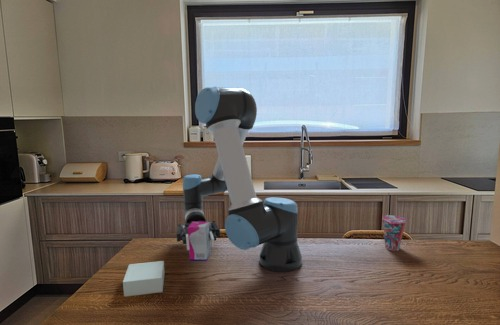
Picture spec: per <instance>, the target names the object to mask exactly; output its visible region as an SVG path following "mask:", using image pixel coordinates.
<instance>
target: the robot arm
mask: <svg viewBox="0 0 500 325" xmlns="http://www.w3.org/2000/svg"><path fill="white" fill-rule="evenodd" d="M194 105H195V106H194V112H195V113H194V114H195V117H196V119H197V120H198V122H199V123H201V124H203V125H204V124H205V127H206V130H207V132H208V133H210V134H212V135H213V140H214V144H215V148H216V151H217V154H218V157H217V160H216V163H215V166H214V169H213V171H212V174H211V176H206V177H202V175H200V174H197V173H196V174H195V173H193V174H187V175H185V176H183V178H182V192H183V193H182V194H183V214H184V219H185V220H184V222H185V224H184V225H182V224H177V230H176V241H177V242H178V243H179V242H181V241H182V244H183V245H186V251H189V250H190V249H189V237H188V227H189V226H190V224H191V223H192V222H208V221H207V219H206V217H205V216H206V215H205V213H204V207H203V206H204V205H203V204H204V203H203V199H204V198H203V197H207V196H210V195H216V194H220V193H225V192H227V193H228V197H229V200H230V204H229V207H228V209H227V211H228V215H227V217H226V218H225V220H224V230H225V233H226V236H227V238H228V240H229V241H230V242H231V244H232V245H233V246H234V247H235V248H237V249H239V250H243V251H244V250H249V249H252V248H256V247H258V246H260V245H262V246H261V250H260V252H259V264H260V265H261V267H263V268H264V269H266V270H269V271H273V272H279V273H280V272H285V273H287V272H292V271H295V270H297V269H299V268H300V267H301V265H302V264H303V263H302V261H303V256H302V253H301V250H300V246H299V244H298V218H299V215H298V214H299V212H298V204H297V202H296V201H295V200H292V199H289V198H286V197H285V198H284V197H273V196H271V197H266V198H265V199H263V200H264V201H263V200H262V199H261V198H259V197H258V196H257V194H256V190H255V186H254V182H253V180H252V176H251V172H250V168H249V165H248V161H247V157H246V154H245V150H244V143H245V141H246V138H247V135H248V133H249V131H250V130H252V129H253V127H254V125H255V122H256V119H257V114H258V113H257V112H258V111H257V110H258V107H257V103H256V99H255V98H254V96H253V95H252V93H251V92H249V91H248V90H246V89H245V88H242V87H219V86H218V87H217V86H210V87H204V88H203V89H201V90H200V91H199V93H198V94H197V96H196V101H195V102H194ZM209 234H210V246H211V247H212V248H215V246H216V245H215V241H217V238H220V237H221V230H220V228H219V226H218V225H217V224H216V221H215V220H212V221H211V222H209Z"/></svg>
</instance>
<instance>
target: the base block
mask: <svg viewBox="0 0 500 325" xmlns="http://www.w3.org/2000/svg"><path fill="white" fill-rule="evenodd" d="M165 274H166V273H165V260H158V261H148V262H139V263H138V262H136V263H129V264H128V266H127V269H126V272H125V274H124V278H123V280H122V287H123V297H132V296H140V295H148V294H155V293H163V292H164V291H163V290H164V281H165Z"/></svg>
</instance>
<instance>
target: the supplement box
mask: <svg viewBox="0 0 500 325" xmlns="http://www.w3.org/2000/svg"><path fill="white" fill-rule="evenodd" d="M209 223H210V222H209V221H207V222H192V223H191V224H190V226H189V227H188V237H189V249H190V250H188V253H189V261H190V262H207V261H208V260H209V258H210V255H211V253H212V252H211V242H210V234H209Z"/></svg>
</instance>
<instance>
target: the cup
mask: <svg viewBox="0 0 500 325" xmlns="http://www.w3.org/2000/svg"><path fill="white" fill-rule="evenodd" d="M406 222H407V219H406V218H405V217H402V216H399V215H394V214H386V215H383V216H382V225H383V238H384V247H385V249H386V250H388V251H392V252H397V251H399V250H400V247H401V243H402V240H403V236H404V235H403V234H404V230H405V227H406V226H405V225H406Z"/></svg>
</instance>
